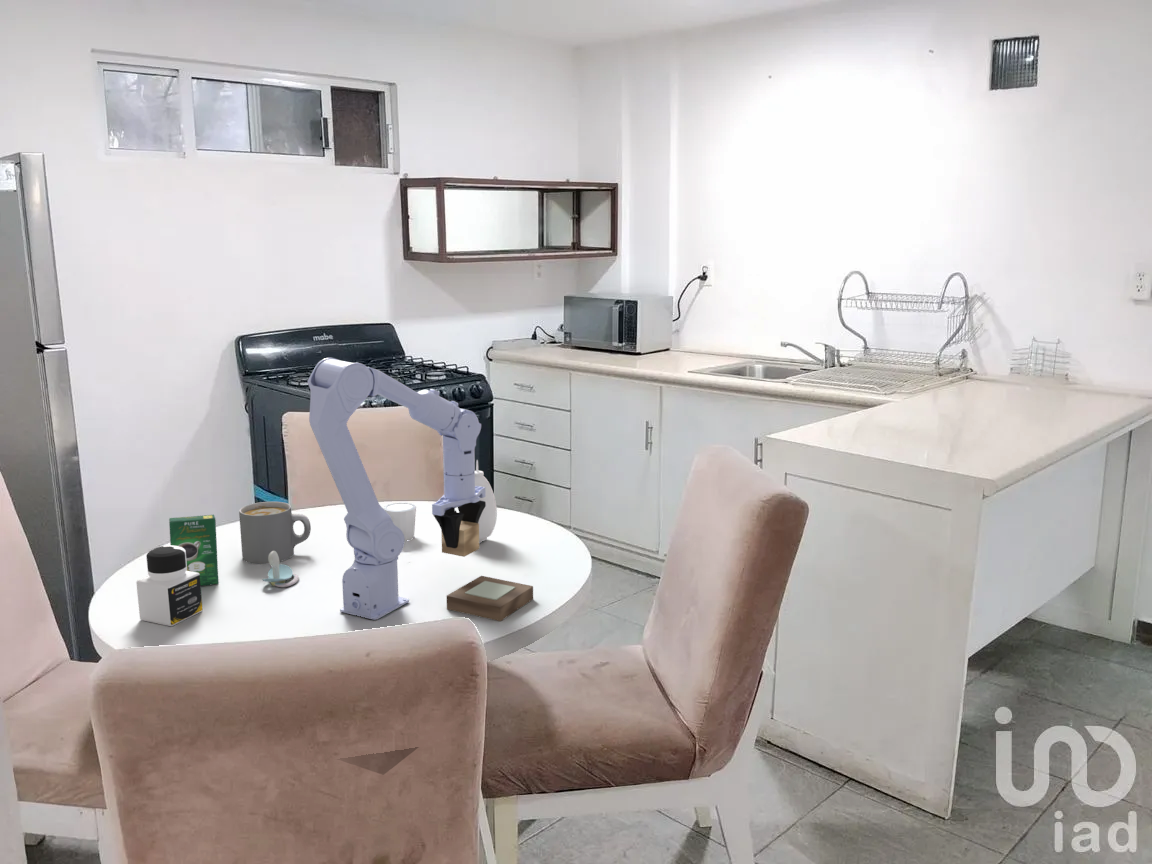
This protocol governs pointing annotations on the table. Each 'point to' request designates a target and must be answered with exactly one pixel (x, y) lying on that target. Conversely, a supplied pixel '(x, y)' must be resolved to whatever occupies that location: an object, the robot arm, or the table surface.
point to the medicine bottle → (168, 588)
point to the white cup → (403, 517)
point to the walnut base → (490, 598)
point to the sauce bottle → (490, 510)
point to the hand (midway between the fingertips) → (460, 542)
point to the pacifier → (279, 572)
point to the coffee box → (197, 545)
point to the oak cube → (464, 540)
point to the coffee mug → (270, 531)
